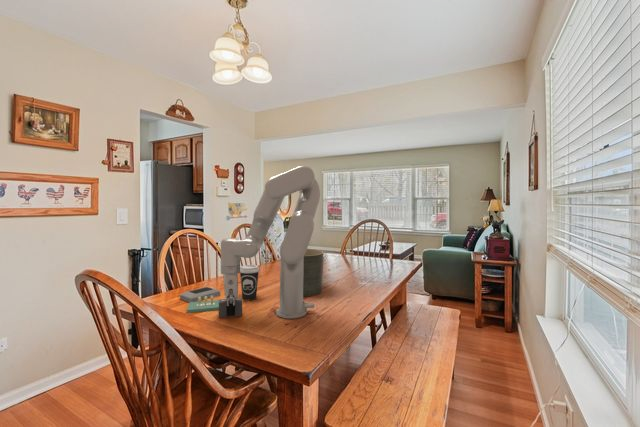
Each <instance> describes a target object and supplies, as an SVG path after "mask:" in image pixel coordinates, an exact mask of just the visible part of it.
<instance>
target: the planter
mask: <svg viewBox="0 0 640 427" xmlns="http://www.w3.org/2000/svg"><path fill="white" fill-rule="evenodd" d="M324 256H325V255H324V251H323V250H321V249H315V248H307V250H306V253H305V255H304V276H303V298H304V297H313V296H316V295H320V294H321V293H322V292H323V282H324V281H323V279H324V278H323V277H324Z"/></svg>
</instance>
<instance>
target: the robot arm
mask: <svg viewBox="0 0 640 427" xmlns="http://www.w3.org/2000/svg"><path fill="white" fill-rule="evenodd" d="M296 192H299V195H298V198H297V201H296V205H295V207H294V210H293V214H292V216H291V217H290V218H289V221H288V222H289V223H288V226H287V229H286V232H285V235H284V237H283V240H282V241H281V244H280V247H279V255H280V259H279V261H280V262H279V264H280V266H279V268H280V270H279V307H278V308H277V309H276V311H275V314H276V315H277V317H279V318H281V319H290V320H291V319H292V320H293V319H299V318H303V317H305V316H306V315H307V314H308V313H307V312H308V309H312V308H313V309H315V303H314V302H310V301H306V302H305V301H304V297H303V276H304V255H305V253H306V250H307V249H308V247H309V244H310V241H311V239H312V235H313V233H314V229H315V222H314V219H315V215H316V213H317V209H318V206H319V203H320V199H321V198H320V197H321V190H320V185H319V182H318V181H317V179H316V177H315V172H314V170H313V169H312V168H311V167H309V166H308V165H300V166H297V167H294V168H292V169H290V170H288V171H285V172H282V173H279V174H277V175H274V176H272V177H271V178H268V179H267V180H266V182H265V184H264V190H263V192H262V195H261V197H260V198H259V201H258V203H257V205H256V207H255V210H254V212H253V218H252V223H251V225H250V227H249V230H248V231H247V234H246V237H245V238H244V239H238V238H235V237H228V238H222V240H221V241H220V275H223V289H224V297H225V298H224V299H226V300H227V316H233V317H235V316H234V315H235V301H234V299H235V298H236V299H238V298H239V276H238V274H239V275H240V268H241V258H244V259H252V258H254V257H255V256H257V255H258V253H259V251H260V249H261V248H262V246H263V244H264V241H265V238H266V236H267V235H268V232H269V230H270V229H271V228H270V227H271V226H272V225H273V223H274V221H275V219H276V217H277V215H278V212H279V210H280V207H281V205H282V203H283V202H284V199H285V197H286V196H289V195H292V194H294V193H296Z"/></svg>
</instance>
